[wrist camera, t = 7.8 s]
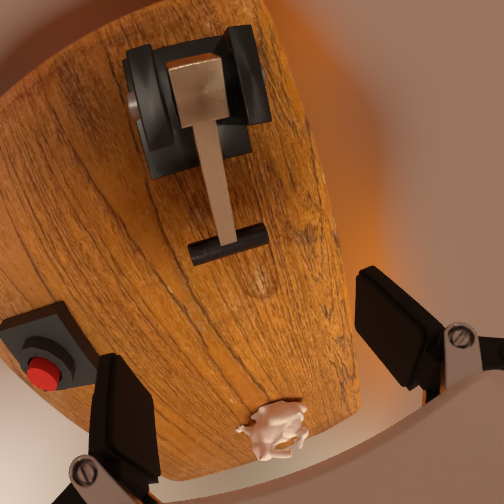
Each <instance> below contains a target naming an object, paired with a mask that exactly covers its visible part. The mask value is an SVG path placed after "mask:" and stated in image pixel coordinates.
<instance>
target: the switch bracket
mask: <svg viewBox="0 0 504 504" xmlns="http://www.w3.org/2000/svg"><path fill="white" fill-rule="evenodd" d="M206 53H212V54H215V55H217V56H220V57H222V60H223V67H224V74H225V81H226V88H227V95H228V102H229V109H230V117H227V118H222V119H218V120H216V123H217V129H218V135H219V141H220V146H221V152H222V158H223V159H227V158H231V157H235V156H239V155H243V154H247V153H251V152H252V149H251V145H250V140H249V135H248V130H247V126H246V125H248V126H251V125H255V124H261V123H266V122H271V121H272V117H271V112H270V107H269V102H268V97H267V93H266V88H265V86H266V75H265V71H264V68H263V66H262V64H261V63H260V60H259V56H258V51H257V47H256V43H255V39H254V34H253V30H252V26H251V25H241V26H232V27H227V29H226V30H225V32H224V34H223V35H221V36H214V37H209V38H203V39H198V40H193V41H188V42H183V43H179V44H175V45H171V46H167V47H163V48H159V49H155V50H152V47H151V44H146V45H143V46H139V47H136V48H133V49H130V50H127V51H126V55H127V58H126V59H123V60H122V63H123V68H124V73H125V78H126V82H127V87H128V91H129V92H128V93H127V103H128V108H129V111H130V114H131V117H132V119H133V120H134V121H136V124H137V128H138V132H139V136H140V140H141V143H142V147H143V151H144V154H145V158H146V161H147V165H148V168H149V172H150V175H151V178H152V180H155V179H158V178H161V177H164V176H167V175H170V174H173V173H177V172H180V171H183V170H187V169H190V168H194V167H197V166H200V164H199V160H198V155H197V151H196V146H195V142H194V137H193V133H192V128H191V126H190V127H186V128H180V125H179V122H178V119H177V116H176V112H175V108H174V103H173V99H172V95H171V90H170V86H169V81H168V77H167V72H166V67H165V63H167V62H171V61H174V60H179V59H183V58H187V57H191V56H196V55H201V54H206Z"/></svg>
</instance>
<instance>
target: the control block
mask: <svg viewBox="0 0 504 504" xmlns="http://www.w3.org/2000/svg"><path fill="white" fill-rule="evenodd" d="M0 338H1V340H2V341H3V342H4V344H5V345H6V346H7V348H8V349H9V350H10V352H11V353H12V354H13V356H14V357H15V358H16V359H17V361H18V362H19V363H20V366H21V369H22V370H23V371H24V373H25V374H26V375H27V370H28V368H29V365H30V362H31V360H32V358H34V357H36V356H38V357H42V358H46V359H47V360H49V361H50V362H52V363H54V364H55V365H56V366H57V367H58V369H59V370H60V378H59V382H58V386H57V388H56V389H55V390H56V391H57V390H64V389H68V388H73V387H79V386H84V385H90V384H95V382H96V375H97V368H98V361H99V356H98V354H97V353H96V352H95V350H94V349H93V347H92V346H91V344H90V343H89V342H88V340H87V339H86V337H85V336H84V334H83V333H82V331H81V330H80V328H79V327H78V325H77V324H76V322H75V320H74V319H73V317H72V316H71V314H70V312H69V311H68V309H67V307H66V306H65V304H64V302H63V301H61V302H58V303H55V304H52V305H49V306H45V307H42V308H39V309H36V310H33V311H30V312H27V313H24V314H21V315H18V316H15V317H12V318H9V319H6V320H3V322H2V323H1V325H0ZM44 391H46V390H44Z"/></svg>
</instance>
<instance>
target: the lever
mask: <svg viewBox="0 0 504 504" xmlns="http://www.w3.org/2000/svg"><path fill="white" fill-rule="evenodd" d="M165 67H166V72H167V77H168V81H169V86H170V90H171V95H172V99H173V103H174V108H175V112H176V116H177V119H178V122H179V125H180V128H186V127H190V126H191V128H192V133H193V137H194V142H195V146H196V151H197V155H198V160H199V164H200V168H201V172H202V177H203V181H204V185H205V189H206V193H207V198H208V202H209V206H210V210H211V214H212V218H213V222H214V226H215V230H216V234H217V236H214V237H211V238H207V239H204V240H201V241H197V242H194V243H191V244H188V250H189V254H190V257H191V260H192V263H193V265H194V266H197V265H200V264H204V263H207V262H210V261H213V260H217V259H220V258H223V257H226V256H230V255H233V254H236V253H239V252H243V251H246V250H249V249H252V248H256V247H259V246H262V245H265V244H268V243H269V236H268V232H267V229H266V227H265V225H264V223H262V222H261V223H258V224H254V225H251V226H247V227H244V228H241V229H237V230H235V224H234V219H233V213H232V208H231V202H230V197H229V191H228V186H227V180H226V175H225V169H224V163H223V158H222V152H221V146H220V141H219V135H218V129H217V123H216V120H218V119H222V118H227V117H230V109H229V102H228V95H227V88H226V81H225V74H224V67H223V60H222V57H220V56H217V55H215V54H212V53H206V54H201V55H196V56H191V57H187V58H183V59H179V60H174V61H171V62H167V63H165Z"/></svg>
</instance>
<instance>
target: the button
mask: <svg viewBox="0 0 504 504" xmlns="http://www.w3.org/2000/svg"><path fill="white" fill-rule="evenodd" d="M27 376H28V378H29V380H30V381H31V382H32V383H33V384H34V385H35V386H37V387H38V388H40V389H42V390H46V391H54V390H55V389H56V388H57V386H58V382H59V378H60V370H59V369H58V367H57V366H56V365H55V364H54V363H52V362H50V361H49V360H47V359H46V358H42V357H38V356H36V357H34V358H32V360H31V362H30V365H29V368H28V370H27Z"/></svg>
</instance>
